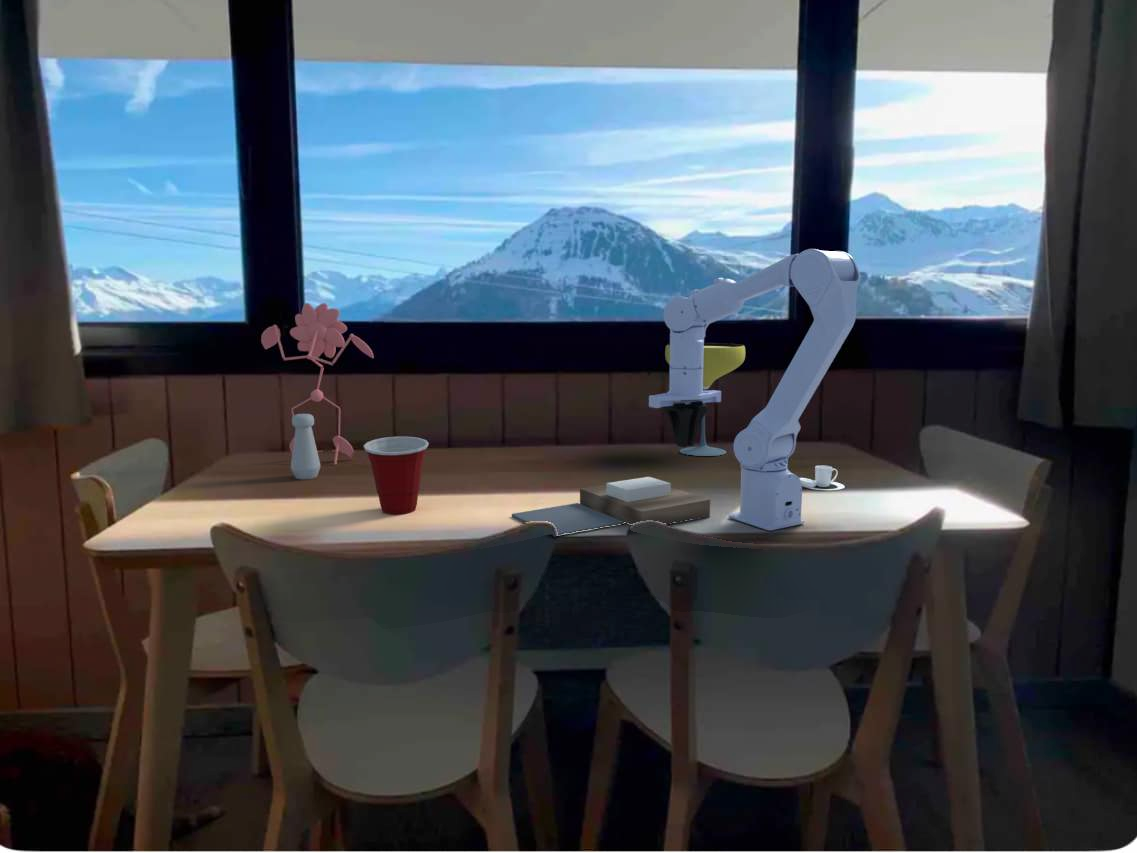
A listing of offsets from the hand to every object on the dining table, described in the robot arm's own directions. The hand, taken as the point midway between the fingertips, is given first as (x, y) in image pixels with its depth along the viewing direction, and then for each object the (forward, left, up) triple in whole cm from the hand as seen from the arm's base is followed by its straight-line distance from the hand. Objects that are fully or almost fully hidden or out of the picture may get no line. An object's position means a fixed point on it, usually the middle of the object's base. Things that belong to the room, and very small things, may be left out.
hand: (684, 445), depth 140 cm
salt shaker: (+58, +51, -11) cm, 78 cm away
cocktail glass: (+34, -34, -11) cm, 49 cm away
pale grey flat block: (0, +10, -7) cm, 12 cm away
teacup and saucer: (-1, -31, -11) cm, 33 cm away
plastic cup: (+23, +44, -11) cm, 51 cm away
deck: (0, +9, -10) cm, 14 cm away
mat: (+2, +23, -10) cm, 25 cm away
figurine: (+75, +42, -11) cm, 87 cm away
